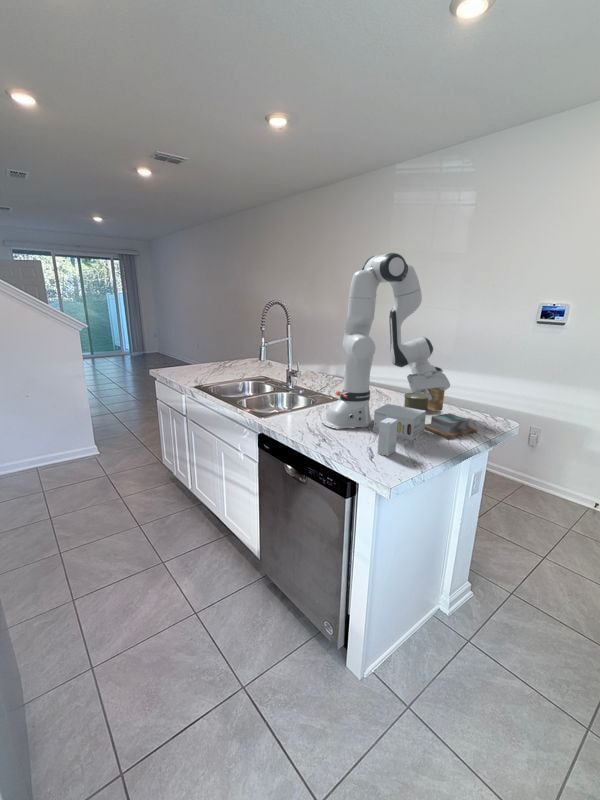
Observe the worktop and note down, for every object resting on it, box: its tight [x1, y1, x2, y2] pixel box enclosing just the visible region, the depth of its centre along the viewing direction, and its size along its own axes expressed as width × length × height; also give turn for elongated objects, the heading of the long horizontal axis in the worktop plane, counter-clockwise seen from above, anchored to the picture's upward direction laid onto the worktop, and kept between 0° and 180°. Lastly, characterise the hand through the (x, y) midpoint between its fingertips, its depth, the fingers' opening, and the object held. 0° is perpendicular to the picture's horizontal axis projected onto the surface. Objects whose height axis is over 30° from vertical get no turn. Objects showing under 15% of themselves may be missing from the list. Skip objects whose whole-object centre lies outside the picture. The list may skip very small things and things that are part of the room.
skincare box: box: [377, 418, 398, 457], centre depth 128 cm, size 6×4×12 cm
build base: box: [424, 412, 478, 440], centre depth 150 cm, size 16×14×6 cm
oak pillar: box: [427, 388, 446, 412], centre depth 163 cm, size 4×4×9 cm
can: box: [403, 392, 430, 412], centre depth 181 cm, size 12×12×7 cm
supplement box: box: [372, 403, 427, 441], centre depth 150 cm, size 17×13×9 cm
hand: (437, 398), depth 163 cm, fingers closed on oak pillar, 4 cm apart
